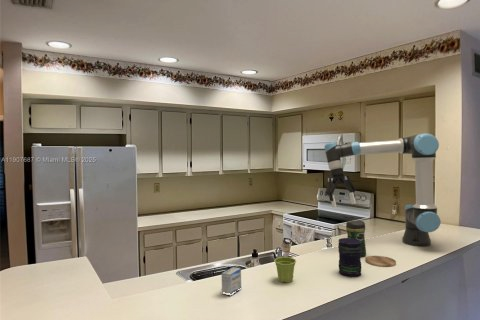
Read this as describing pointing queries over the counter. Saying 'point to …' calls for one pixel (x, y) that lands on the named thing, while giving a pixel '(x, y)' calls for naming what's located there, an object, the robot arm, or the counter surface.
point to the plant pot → (285, 268)
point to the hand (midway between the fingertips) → (344, 205)
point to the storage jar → (349, 257)
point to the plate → (380, 261)
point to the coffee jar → (357, 233)
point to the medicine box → (231, 280)
